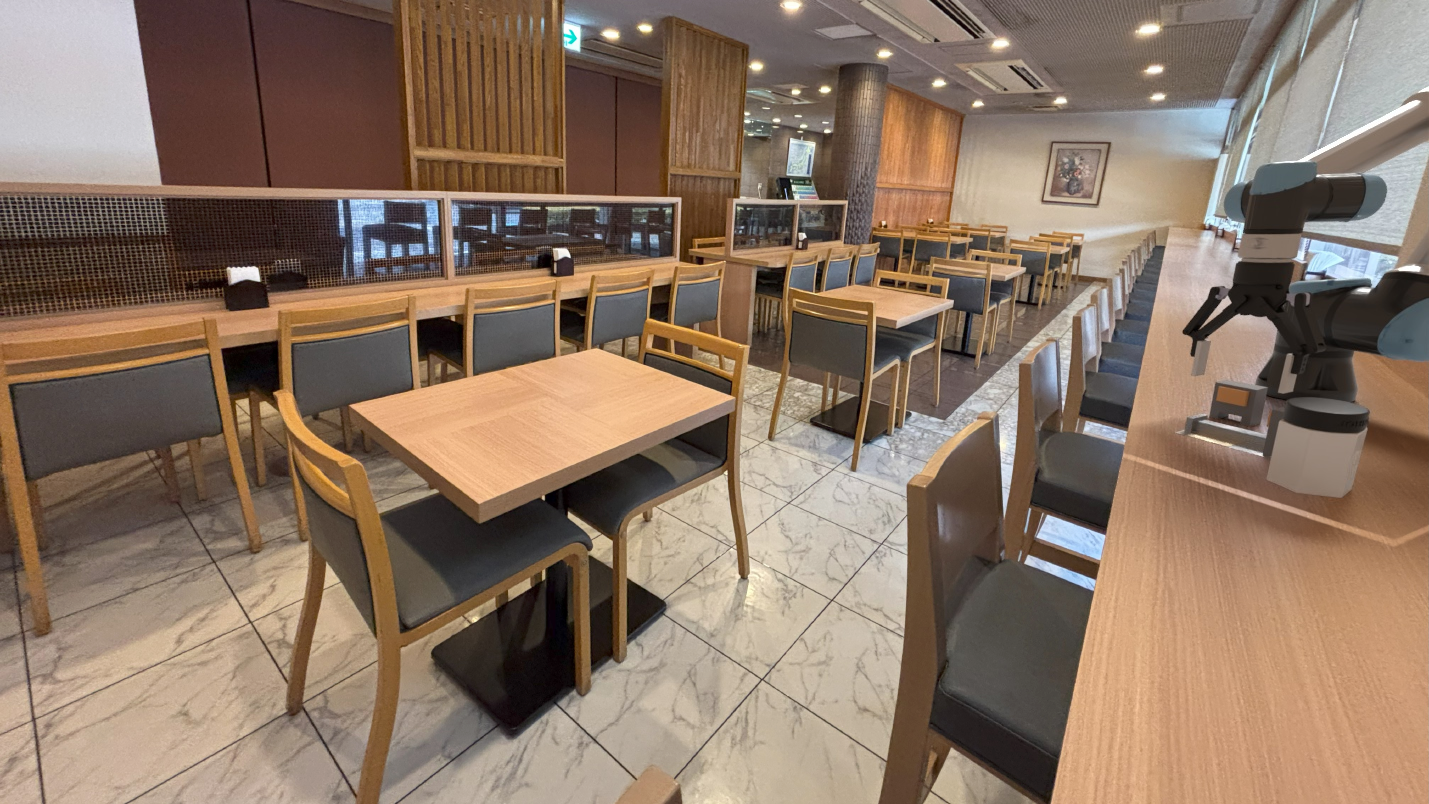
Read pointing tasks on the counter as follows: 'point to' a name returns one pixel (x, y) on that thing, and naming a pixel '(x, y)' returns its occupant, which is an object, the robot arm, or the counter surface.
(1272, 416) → the fixed finger
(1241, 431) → the rail
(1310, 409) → the jar
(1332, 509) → the counter surface
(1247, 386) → the block
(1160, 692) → the counter surface
